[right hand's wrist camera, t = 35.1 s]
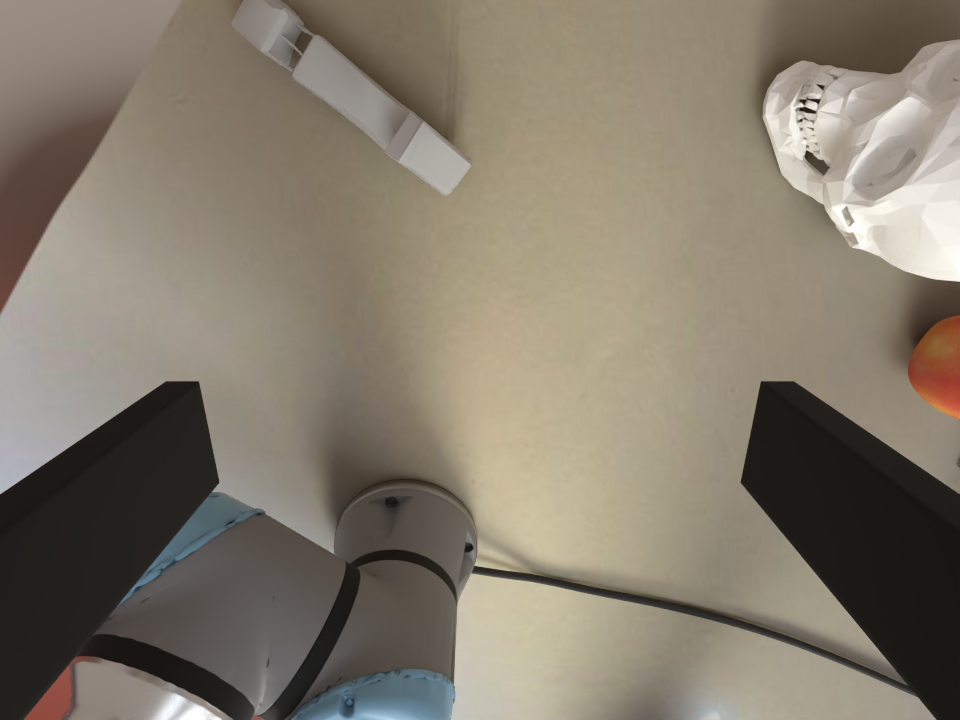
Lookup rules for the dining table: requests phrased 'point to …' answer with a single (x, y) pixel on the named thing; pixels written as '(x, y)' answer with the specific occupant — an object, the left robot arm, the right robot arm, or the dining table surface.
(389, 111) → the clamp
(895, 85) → the skull
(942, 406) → the apple
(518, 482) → the dining table surface
